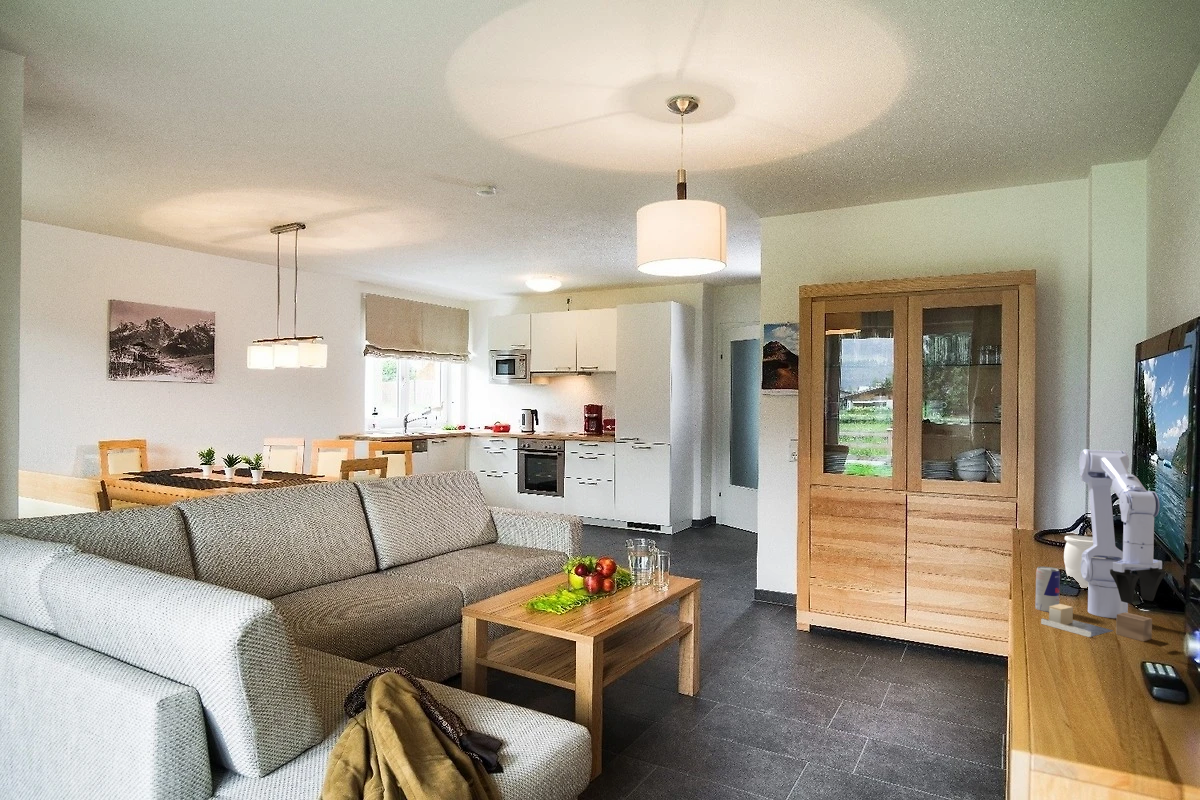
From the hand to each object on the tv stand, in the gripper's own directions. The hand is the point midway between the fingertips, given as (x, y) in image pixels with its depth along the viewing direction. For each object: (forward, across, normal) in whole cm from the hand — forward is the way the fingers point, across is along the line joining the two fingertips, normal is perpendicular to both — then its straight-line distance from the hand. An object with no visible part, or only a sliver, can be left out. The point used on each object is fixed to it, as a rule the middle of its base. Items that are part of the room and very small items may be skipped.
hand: (1137, 601), depth 167 cm
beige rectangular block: (+9, -5, +14) cm, 18 cm away
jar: (+9, +41, +40) cm, 58 cm away
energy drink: (+10, +3, +24) cm, 26 cm away
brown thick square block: (+10, +2, +2) cm, 10 cm away
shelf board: (+10, -5, +11) cm, 15 cm away
